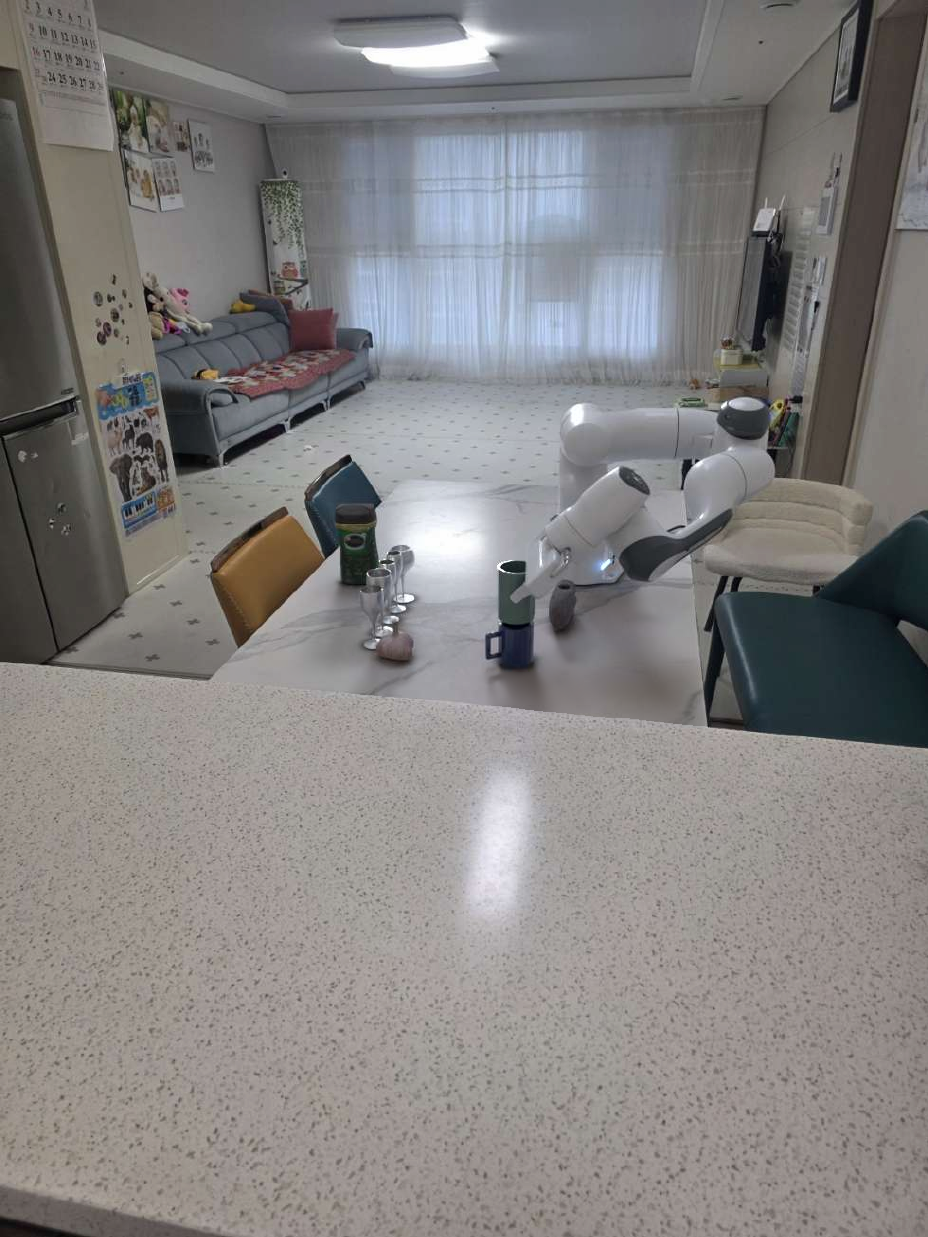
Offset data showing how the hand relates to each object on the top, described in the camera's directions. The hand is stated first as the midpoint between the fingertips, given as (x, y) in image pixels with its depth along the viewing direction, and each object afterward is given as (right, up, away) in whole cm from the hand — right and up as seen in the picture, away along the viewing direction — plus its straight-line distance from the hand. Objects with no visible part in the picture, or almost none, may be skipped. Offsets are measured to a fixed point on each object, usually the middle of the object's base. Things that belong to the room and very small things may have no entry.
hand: (513, 590), depth 151 cm
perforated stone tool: (+11, -6, +22) cm, 25 cm away
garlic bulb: (-22, -13, +9) cm, 27 cm away
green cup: (+1, -5, +2) cm, 5 cm away
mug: (-1, -14, +6) cm, 15 cm away
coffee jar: (-34, +4, +45) cm, 56 cm away
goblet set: (-25, -6, +24) cm, 35 cm away
